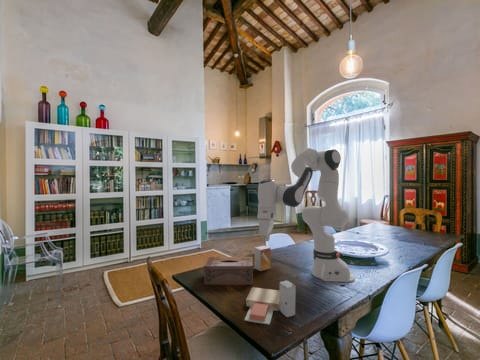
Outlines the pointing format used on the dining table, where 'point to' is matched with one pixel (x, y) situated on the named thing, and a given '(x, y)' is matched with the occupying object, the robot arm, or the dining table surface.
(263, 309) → the pink tray
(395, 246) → the dining table surface
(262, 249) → the small box
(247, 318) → the mat
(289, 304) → the skincare box
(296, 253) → the dining table surface
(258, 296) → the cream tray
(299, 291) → the dining table surface
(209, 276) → the tissue box cover
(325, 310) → the dining table surface
